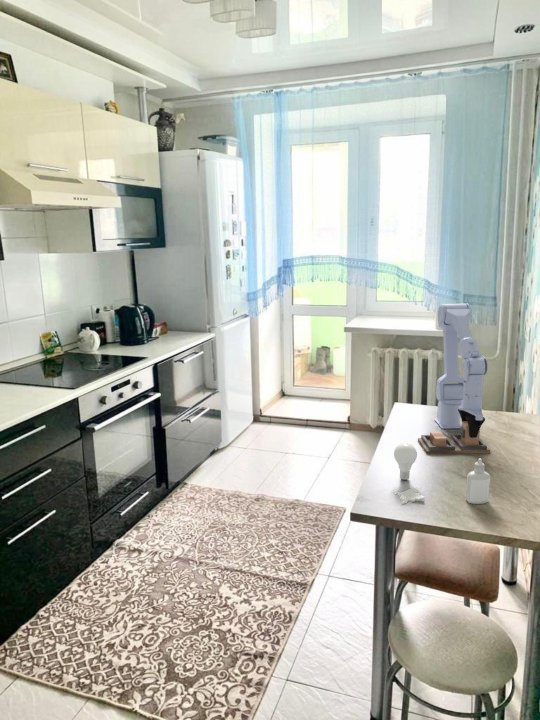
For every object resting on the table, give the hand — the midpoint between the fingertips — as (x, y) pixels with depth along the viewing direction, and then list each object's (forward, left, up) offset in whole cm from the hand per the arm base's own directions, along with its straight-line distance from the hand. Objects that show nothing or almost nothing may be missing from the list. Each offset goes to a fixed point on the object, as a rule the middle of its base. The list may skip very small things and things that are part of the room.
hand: (469, 433), depth 174 cm
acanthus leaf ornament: (+33, -27, -5) cm, 43 cm away
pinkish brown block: (0, 0, -3) cm, 3 cm away
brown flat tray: (0, -5, -4) cm, 7 cm away
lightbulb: (+23, -26, -5) cm, 35 cm away
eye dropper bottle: (+36, -10, -5) cm, 37 cm away
